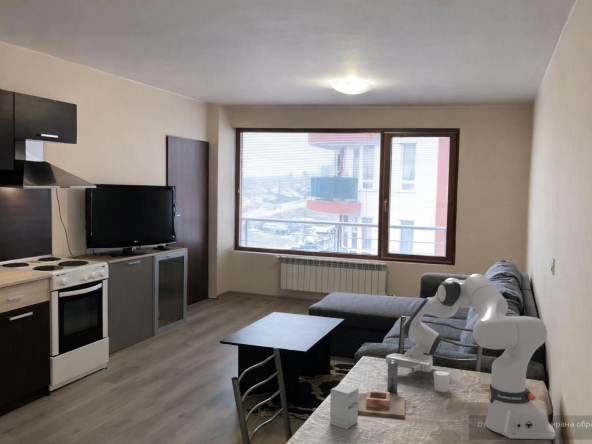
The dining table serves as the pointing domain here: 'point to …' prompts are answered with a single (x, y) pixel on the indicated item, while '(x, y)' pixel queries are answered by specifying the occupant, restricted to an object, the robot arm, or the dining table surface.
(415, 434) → the dining table surface
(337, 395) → the supplement box
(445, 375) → the shot glass
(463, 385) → the dining table surface
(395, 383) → the peg
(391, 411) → the keeper board
